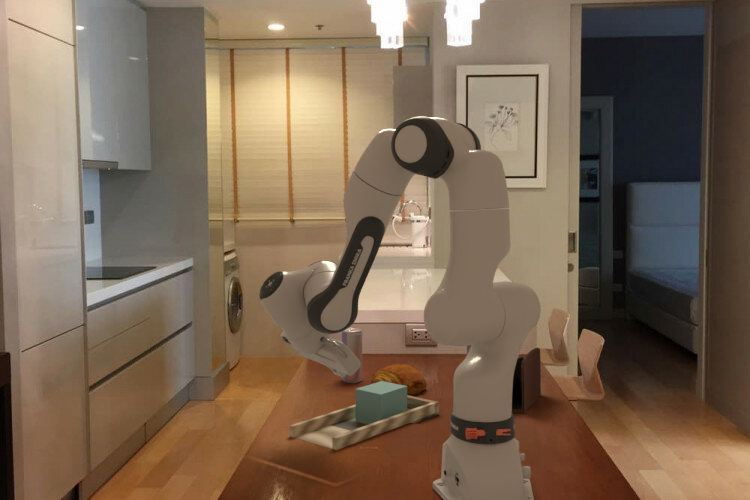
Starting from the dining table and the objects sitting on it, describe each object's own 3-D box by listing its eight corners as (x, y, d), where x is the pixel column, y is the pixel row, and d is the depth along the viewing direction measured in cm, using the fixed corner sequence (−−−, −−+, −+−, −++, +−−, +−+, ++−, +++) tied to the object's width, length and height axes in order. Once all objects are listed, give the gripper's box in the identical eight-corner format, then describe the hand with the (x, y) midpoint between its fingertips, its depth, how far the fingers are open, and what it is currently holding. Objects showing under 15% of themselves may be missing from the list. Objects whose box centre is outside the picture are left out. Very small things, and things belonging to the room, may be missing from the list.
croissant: (363, 396, 230) (359, 369, 229) (406, 380, 239) (403, 354, 238) (395, 406, 219) (391, 377, 218) (439, 389, 228) (435, 361, 227)
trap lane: (336, 452, 177) (336, 438, 176) (289, 438, 186) (289, 425, 185) (438, 414, 205) (438, 401, 205) (393, 403, 214) (393, 392, 214)
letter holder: (541, 395, 223) (542, 344, 222) (524, 414, 205) (525, 359, 204) (504, 391, 227) (505, 341, 226) (485, 410, 209) (486, 355, 208)
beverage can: (338, 381, 237) (337, 330, 236) (348, 377, 243) (348, 327, 241) (356, 384, 235) (355, 332, 233) (366, 379, 240) (365, 328, 239)
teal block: (381, 425, 194) (381, 394, 193) (355, 419, 199) (355, 388, 198) (407, 416, 201) (407, 386, 200) (381, 410, 206) (381, 381, 206)
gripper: (347, 333, 172) (379, 374, 179) (293, 314, 188) (324, 353, 195) (328, 355, 170) (361, 396, 177) (275, 334, 186) (307, 373, 193)
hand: (341, 373), depth 186 cm, fingers closed
